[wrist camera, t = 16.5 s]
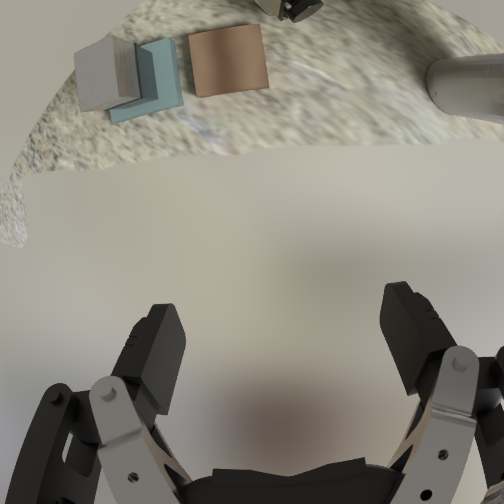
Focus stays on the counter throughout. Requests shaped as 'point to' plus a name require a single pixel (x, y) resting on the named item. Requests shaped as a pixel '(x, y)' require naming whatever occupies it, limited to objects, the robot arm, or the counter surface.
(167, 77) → the stand
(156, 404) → the robot arm
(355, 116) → the counter surface
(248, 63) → the stand
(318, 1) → the pneumatic valve
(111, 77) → the block
